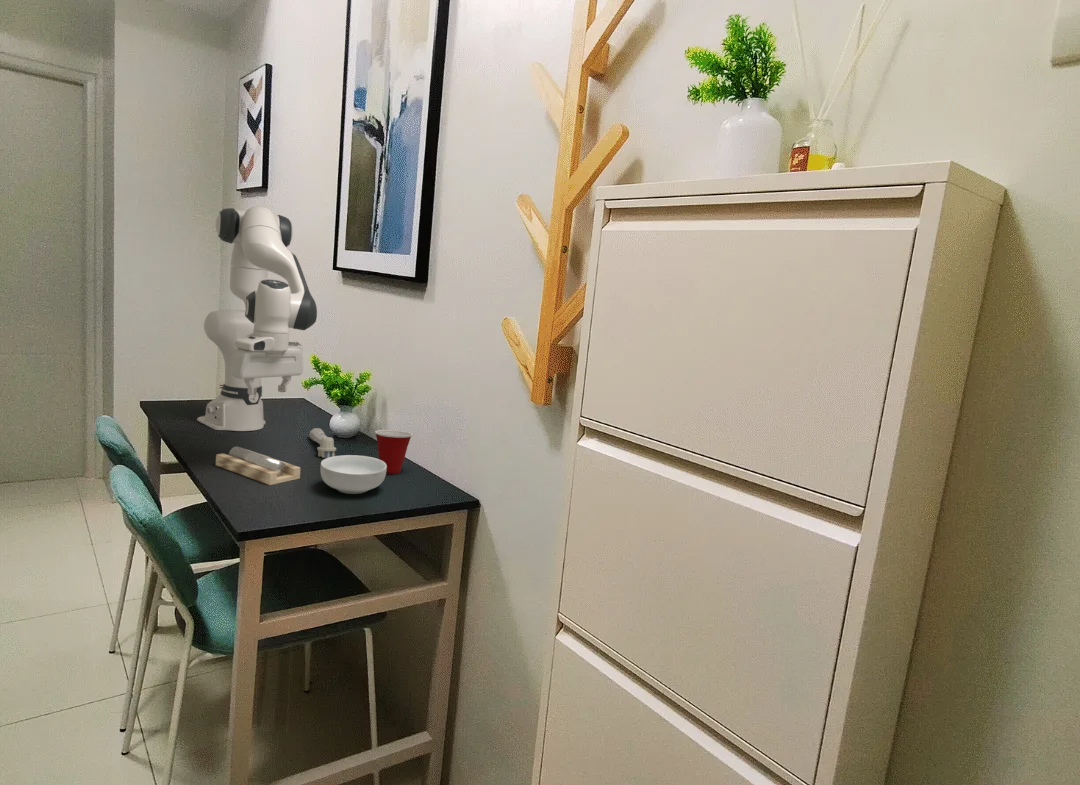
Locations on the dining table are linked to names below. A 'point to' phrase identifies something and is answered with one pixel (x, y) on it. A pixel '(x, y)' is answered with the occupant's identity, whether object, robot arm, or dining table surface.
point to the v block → (257, 470)
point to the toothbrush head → (323, 443)
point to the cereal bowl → (353, 473)
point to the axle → (258, 460)
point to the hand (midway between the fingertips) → (267, 393)
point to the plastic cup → (392, 448)
